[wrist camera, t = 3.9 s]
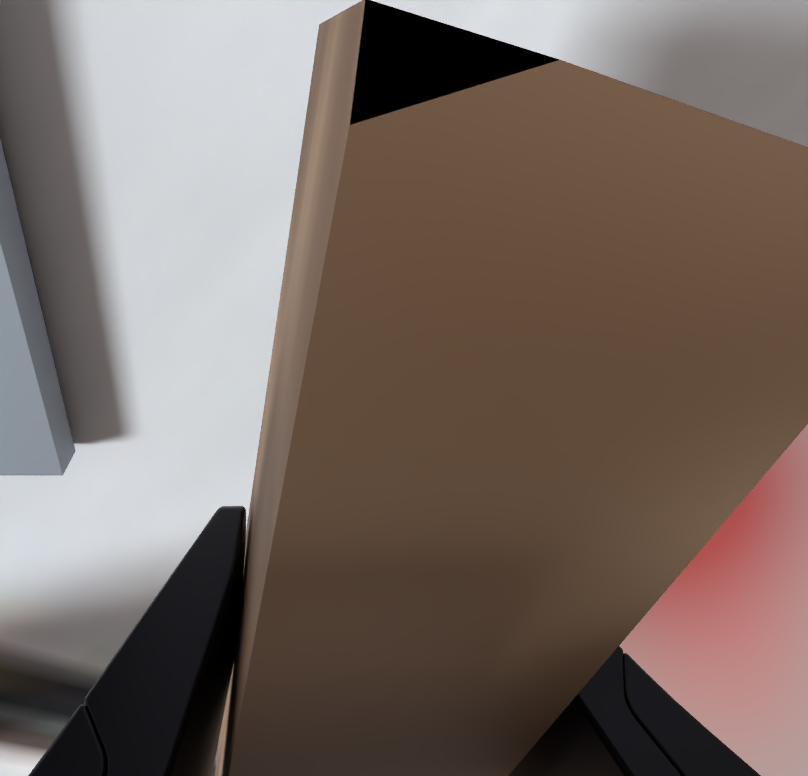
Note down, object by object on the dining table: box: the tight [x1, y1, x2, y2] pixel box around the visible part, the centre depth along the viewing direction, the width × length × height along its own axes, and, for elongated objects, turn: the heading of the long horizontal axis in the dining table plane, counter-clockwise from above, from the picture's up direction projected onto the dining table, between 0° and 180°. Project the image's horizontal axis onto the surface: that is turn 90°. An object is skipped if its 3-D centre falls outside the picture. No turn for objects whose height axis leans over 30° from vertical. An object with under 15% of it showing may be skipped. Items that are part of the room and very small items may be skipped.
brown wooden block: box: [215, 0, 808, 776], centre depth 8 cm, size 14×4×5 cm, turn 165°
